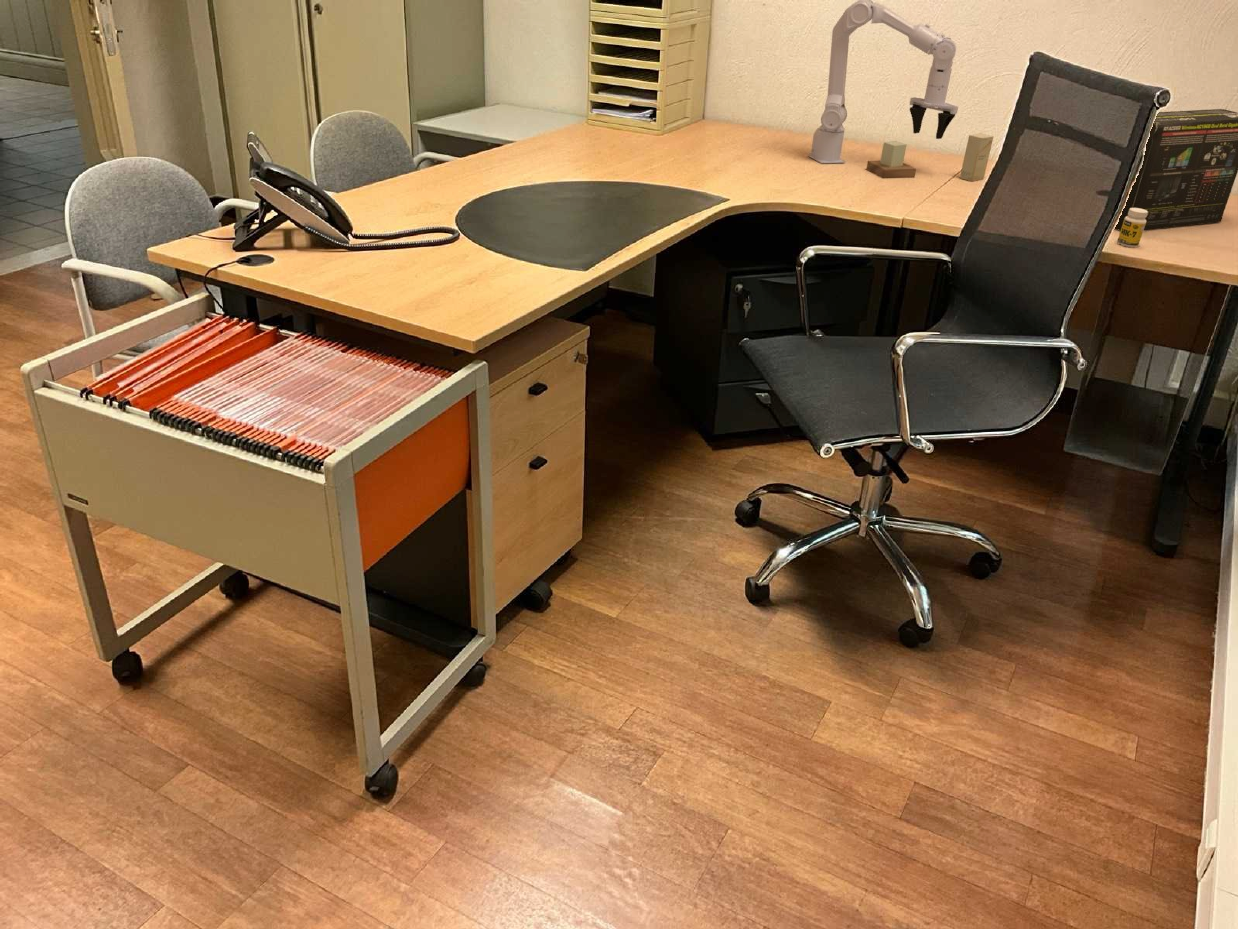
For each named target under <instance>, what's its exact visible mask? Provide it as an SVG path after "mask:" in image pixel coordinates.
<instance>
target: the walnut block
mask: <svg viewBox="0 0 1238 929" xmlns="http://www.w3.org/2000/svg"><path fill="white" fill-rule="evenodd" d="M880 161H881V159H879V160H867V163H866V171H868V172H870V173H872V174H874V175H876V176H877V177H880V178H881V179H883V180H884V179H915V178H916V172H917V169H916V167H913V166H911V165H909V164H907V163H905V162H903V166H898V167H888V166H886V165H883V164H880Z"/></svg>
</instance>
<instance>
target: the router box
mask: <svg viewBox="0 0 1238 929" xmlns="http://www.w3.org/2000/svg"><path fill="white" fill-rule="evenodd" d="M1158 112H1159V113H1158V114H1157V116H1156V119H1155V121H1154V123H1153V127H1152V129H1151V131H1150V137H1149V139H1148V142H1147V144H1146V151H1145V155H1144V161H1143V165H1142V168H1141V169H1140V171H1139V175H1138V176H1137V178H1136V182H1135V183H1134V185H1133V186H1132V190H1131V192H1130V194H1129V198H1128V200H1127V202H1126V206H1125V208H1124V209H1123V211H1122V215H1121V216H1120V218H1119V222H1118V224H1117V225H1116V227H1115V228H1114V229H1115V230H1118V231H1121V228H1122V225H1123V222H1124V219H1125V217H1126V216H1128V212H1129V209H1130V208H1140V209H1144V210H1147V211H1148V213H1147V216H1146V218H1145V219H1146V224H1145V227H1144V230H1143V231H1149V230H1159V229H1168V228H1169V229H1170V228H1175V227H1177V228H1178V227H1186V226H1188V227H1189V226H1197V225H1204V224H1213V223H1221V222H1222V219H1223V216H1224V212H1225V210H1226V207H1227V204H1228V200H1229V199H1230V196H1231V193H1232V189H1233V186H1234V184H1235V180H1236V177H1237V174H1238V112H1236V111H1232V110H1230V109H1229V110H1228V109H1222V108H1215V109H1199V110H1198V109H1197V110H1195V109H1194V110H1177V111H1175V110H1174V111H1172V110H1171V111H1158Z"/></svg>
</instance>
